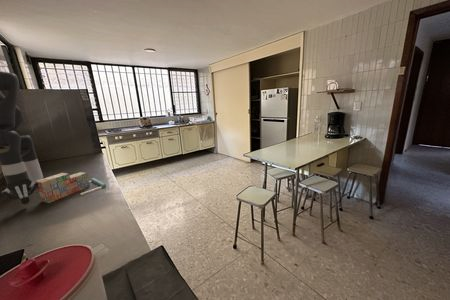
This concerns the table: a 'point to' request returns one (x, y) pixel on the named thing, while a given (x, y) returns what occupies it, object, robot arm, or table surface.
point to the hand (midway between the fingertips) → (26, 203)
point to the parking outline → (95, 188)
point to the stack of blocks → (61, 185)
